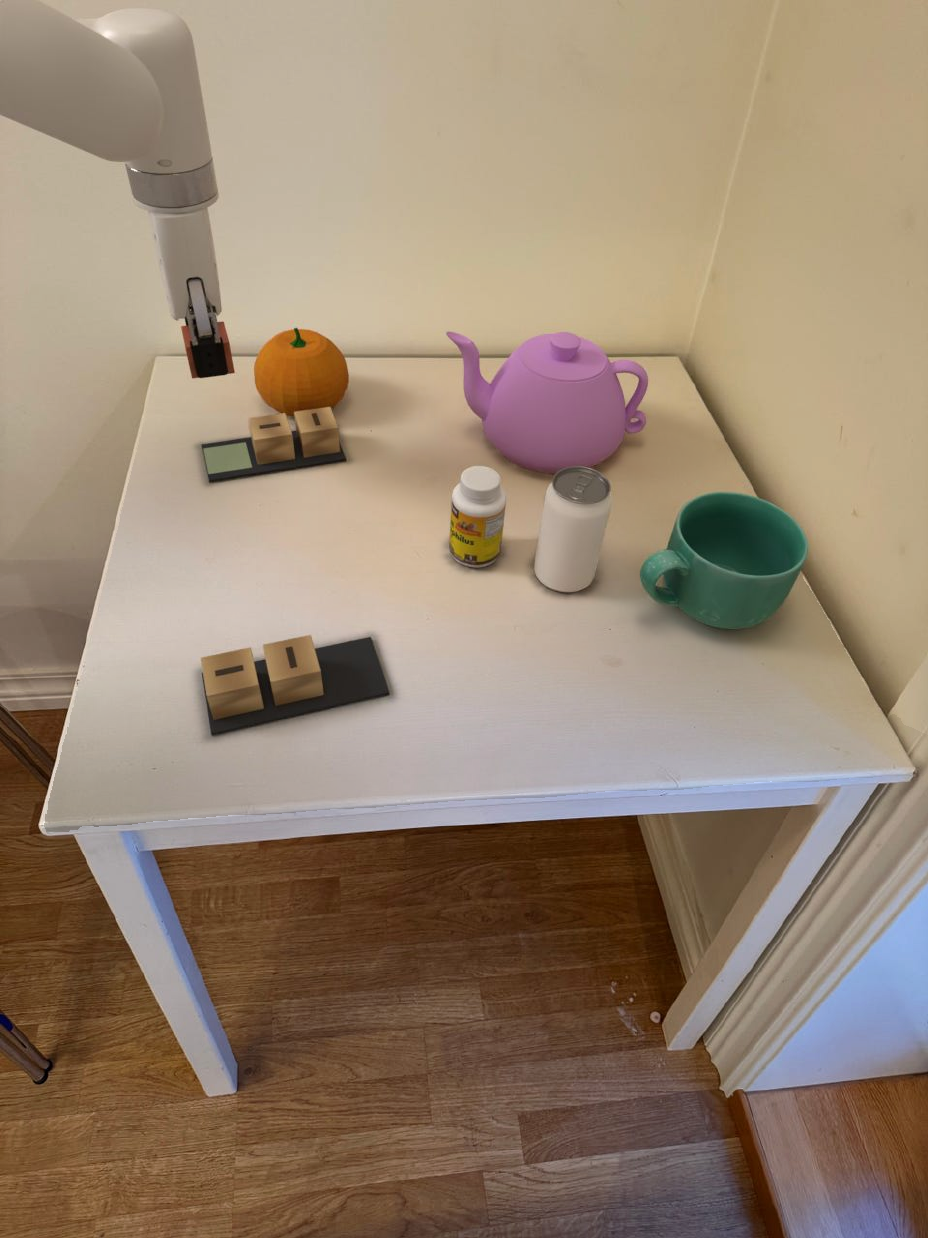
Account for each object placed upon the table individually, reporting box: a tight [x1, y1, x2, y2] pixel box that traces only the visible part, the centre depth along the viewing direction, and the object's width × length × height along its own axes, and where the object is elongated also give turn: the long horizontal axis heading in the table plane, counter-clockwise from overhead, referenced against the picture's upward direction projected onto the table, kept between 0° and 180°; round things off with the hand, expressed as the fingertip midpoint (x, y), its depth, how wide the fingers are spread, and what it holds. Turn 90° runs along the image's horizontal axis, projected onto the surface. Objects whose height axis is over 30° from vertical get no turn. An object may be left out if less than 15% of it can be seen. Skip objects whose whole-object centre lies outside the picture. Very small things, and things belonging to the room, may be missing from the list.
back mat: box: [201, 430, 347, 483], centre depth 99 cm, size 16×7×1 cm, turn 108°
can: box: [533, 466, 613, 594], centre depth 84 cm, size 6×6×12 cm
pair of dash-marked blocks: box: [247, 407, 341, 465], centre depth 98 cm, size 10×4×4 cm, turn 108°
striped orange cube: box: [180, 321, 236, 379], centre depth 87 cm, size 4×4×4 cm
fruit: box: [253, 327, 350, 417], centre depth 103 cm, size 12×12×10 cm
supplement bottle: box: [448, 465, 507, 569], centre depth 86 cm, size 6×6×10 cm
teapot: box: [445, 331, 649, 475], centre depth 99 cm, size 25×18×14 cm
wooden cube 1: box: [200, 647, 264, 720], centre depth 73 cm, size 4×4×4 cm
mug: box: [639, 491, 809, 630], centre depth 83 cm, size 17×13×10 cm
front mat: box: [201, 636, 390, 736], centre depth 76 cm, size 16×7×1 cm, turn 108°
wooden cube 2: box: [262, 634, 324, 706], centre depth 75 cm, size 4×4×4 cm
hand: (209, 360), depth 88 cm, fingers closed on striped orange cube, 4 cm apart
